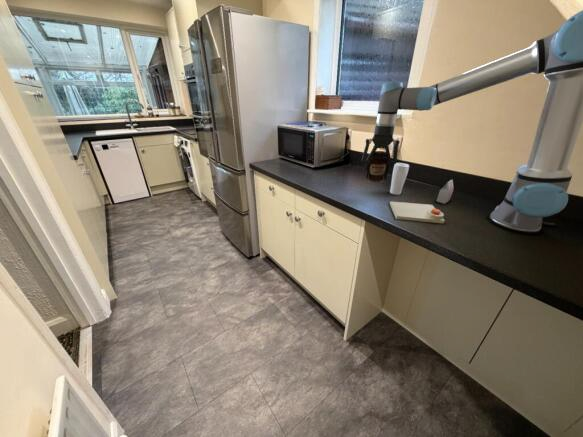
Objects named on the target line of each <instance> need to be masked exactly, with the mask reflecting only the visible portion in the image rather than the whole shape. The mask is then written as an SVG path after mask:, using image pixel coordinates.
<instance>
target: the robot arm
mask: <svg viewBox="0 0 583 437" xmlns="http://www.w3.org/2000/svg"><path fill="white" fill-rule="evenodd" d="M542 73H544V74H543V77H544V78H545V79H546V80H548V86H547V90H546V94H545V97H544V101H543V105H542V108H541V112H540V115H539V119H538V123H537V127H536V131H535V134H534V138H533V142H532V145H531V149H530V153H529V156H528V160H527V164H523V165H521V166H520V167H519V168H518V169H517V171H516V174H515V175H514V178H513V180H512V182H511V184H510V186H509V188H508V190H507V192H506V195H505V196H504V199H503V201H502V202H501V203H500V204H499V205H496V207H495V208H494V210H493V211H492V212H491V213H490V215H489V216H488V219H489V220H490V222H491V223H493V224H494V225H496V226H498V227H500V228H502V229H506V230H508V231H511V232H515V233H520V234H528V235H533V234H538V233H539V232H540V231H541V229H542V226H543V225H545V226H550V227H551V226H553V227H555V226H556V223H555V222H546V221H543V218H546V217H547V218H548V217H551V216H554V215H556V214H558V213H560V212H561V211H563V210H564V209H565V207H566V206H567V204H568V201H569V194H568V190H569V187H570V184H571V181H572V178H573V175H574V174H573V172H571V171H570V169H568V166H569V164H570V161H571V157H572V155H573V152H574V149H575V145H576V143H577V140H578V137H579V134H580V131H581V128H582V126H583V9H582V10H579V12H576V13H575V14H573V15H572V16H570V18H568V19H567V20H565V22H564V23H563V24H561V26H560V27H559V28H558V30H557V31H555V32H553V33H550V34H549V35H547V36H544V37H543V38H540V39H538V40H535V41H534V42H533V43H532V44H531V45H530V46H529V47H527V48H525V49H522V50H519V51H517V52H514V53H511V54H509V55H506V56H503V57H501V58H499V59H496V60H494V61H491V62H488V63H486V64H483V65H481V66H478V67H476V68H473V69H471V70H468V71H466V72H463V73H461V74H458V75H455V76H453V77H450V78H448V79H445V80H443V81H440V82H437V83H435V84H432V85H430V86H419V87H404V86H403V85H404V84H403V82H402V81H386V82H383V84H382V86H381V90H380V93H379V101H378V108H377V115H376V120H375V124H376V125H375V127H374V133H373V136H372V138H366V139H365V146H364V150H363V152H362V157H361V163H363V164H364V168H363V169H364V171H365V179H368V180H369V168H370V160H371V156H372V154H374V153H375V151H378V149H384V151H385V152H386V153H389V154H388V155H389V159H388V162H387V166H386V170H385V172H384V176H383V181H386V180H387V179H388V174H389V173H390V172H391V170H392V166H394V165H395V164H396V163H398V148H399V145H400V140H399V139H394V133H395V132H394V131H395V125H396V122H397V116H398V111H399V110H400V111H401V110H402V111H403V110H404V111H405V110H406V111H419V112H421V111H422V112H423V111H431V110H432V109H433V107H434V106H437V105H440V104H442V103H445V102H449V101H452V100H455V99H457V98H460V97H463V96H467V95H469V94H472V93H476V92H478V91H481V90H485V89H487V88H490V87H493V86H496V85H499V84H502V83H505V82H508V81H511V80H515V79H517V78H520V77H523V76H526V75H529V74H533V75H539V74H542ZM372 143H373V144H374V145H373V146H372V149H371V151H370V152H369V154H368V151H369V148H370V145H371V144H372ZM391 144H392V145H393V151H392V156H391V152H390V145H391ZM367 154H368V156H367Z"/></svg>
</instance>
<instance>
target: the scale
mask: <svg viewBox="0 0 583 437" xmlns="http://www.w3.org/2000/svg"><path fill="white" fill-rule="evenodd" d="M389 206H390V208H391V210H392V213H393V215H394V218H395V219H396V220H403V221H412V222H413V221H415V222H423V223H425V222H426V223H435V224H445V222H446V221H445V219H444V216H445V214H444V213H443V211H440V214H439V215H435V214H432V213H431V211H432V209H436V207H435V206H434V205H433V204H428V203H427V204H426V203H413V202H403V201H402V202H401V201H389Z"/></svg>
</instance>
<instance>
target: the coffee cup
mask: <svg viewBox="0 0 583 437" xmlns="http://www.w3.org/2000/svg"><path fill="white" fill-rule="evenodd" d="M388 154H389V153H386V150H376V151H375V153H374V154H372V156H371V160H370V162H369V163H370V168H369V174H368V181H369V182H372V183H382V182H384V173H385V170H386V166H387V164H388V159H389V155H388Z"/></svg>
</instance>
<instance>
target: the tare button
mask: <svg viewBox="0 0 583 437" xmlns="http://www.w3.org/2000/svg"><path fill="white" fill-rule="evenodd" d="M440 212H441V209H438V208H435V209H432V211H431V213H432V214H435V215H439V214H440Z"/></svg>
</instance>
